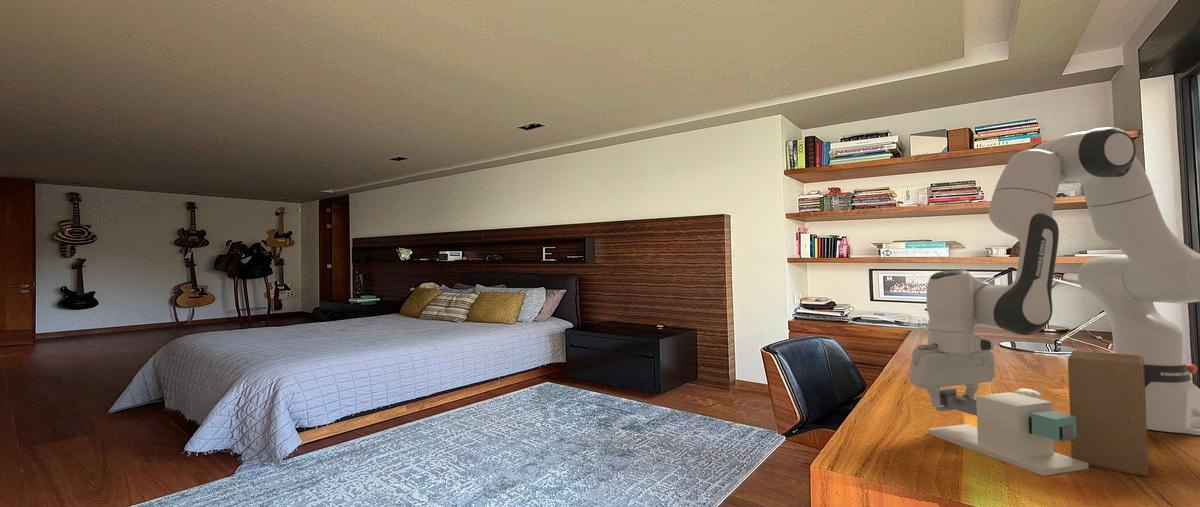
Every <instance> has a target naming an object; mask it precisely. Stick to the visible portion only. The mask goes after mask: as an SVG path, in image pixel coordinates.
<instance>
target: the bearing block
mask: <svg viewBox="0 0 1200 507" xmlns="http://www.w3.org/2000/svg"><path fill="white" fill-rule="evenodd" d="M975 400H976V403H977V416H976V423H977V424H976V426H973V425H970V424H967V423H965V424H955V425H950V426H939V427H934V428H927V434H928V435H930V436H934V437H936V438H939V439H941V440H944V441H946V442H950V443H953V444H956V445H958V446H960V447H964V448H965V449H968V450H971V451H974V452H977V453H980V454H982V455H985V456H988V457H991V458H994V459H996V460H999V461H1002V462H1004V463H1007V464H1010V465H1013V466H1014V467H1015V466H1016V467H1018V468H1021V469H1024V470H1026V471H1028V472H1031V473H1034V474H1037V475H1039V476H1043V477H1045V476H1051V475H1058V474H1063V473H1069V472H1075V471H1081V470H1087V469H1089V465H1088V463H1087V462H1083V461H1080V460H1077V459H1074V458H1072V456H1068V455H1064V454H1062V453H1058V452H1055V440H1054V439H1051V438H1047V437H1044V436H1040V435H1037V434H1034V433H1032V432H1029V417H1031V413H1037V412H1045V411H1054V410H1053V409H1054V408H1053V401H1050V400H1046V399H1037V398H1033V397H1029V396H1025V395H1020V394H1016V393H1015V392H1012V391H1011V392H1010V391H1008V392H999V393H990V394H982V395H975Z"/></svg>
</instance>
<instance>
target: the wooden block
mask: <svg viewBox="0 0 1200 507" xmlns="http://www.w3.org/2000/svg"><path fill="white" fill-rule="evenodd" d="M1067 366H1068V367H1067V369H1068V370H1067V372H1068V395H1069V396H1068V397H1069V401H1068V402H1069V415H1071V416H1075V417H1076V434H1077V437H1073V440H1070V445H1071V447H1070V449H1071V458H1074V459H1077V460H1080V461H1083V462H1087V463H1088V467H1089V466H1091V467H1095V468H1100V469H1104V470H1110V471H1116V472H1121V473H1125V474H1126V473H1127V474H1131V475H1135V476H1142V477H1148V476H1149V475H1150V474H1149V456H1148V455H1149V454H1148V450H1149V449H1148V431H1147V430H1148V429H1147V424H1146V400H1145V376H1144V359H1143V357H1142V356H1137V355H1125V354H1114V353H1110V352H1097V351H1084V350H1083V351H1082V350H1072V352H1071V353H1070V355H1069V356H1068V358H1067Z"/></svg>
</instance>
